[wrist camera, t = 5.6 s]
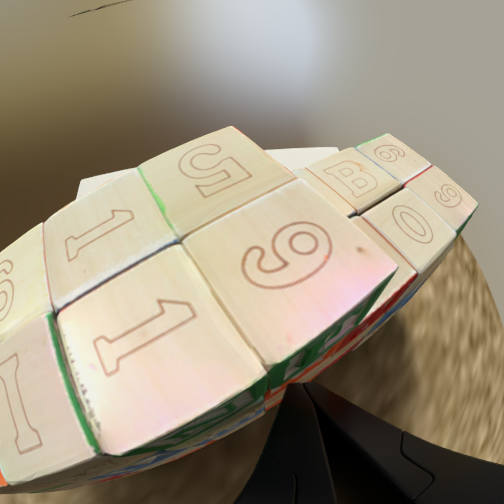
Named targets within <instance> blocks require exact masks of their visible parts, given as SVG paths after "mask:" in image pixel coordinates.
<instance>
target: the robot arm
mask: <svg viewBox="0 0 504 504" xmlns="http://www.w3.org/2000/svg"><path fill="white" fill-rule="evenodd" d="M233 504H504V465H502V464H497V463H493V462H489V461H486V460H482V459H478V458H475V457H471V456H468V455H464V454H461V453H458V452H455V451H452V450H449V449H446V448H443V447H440V446H437V445H435V444H432V443H430V442H427V441H425V440H423V439H421V438H418V437H416V436H414V435H412V434H410V433H408V432H406V431H403V432H402V430H401V429H399V428H397V427H395V426H393V425H391V424H389V423H387V422H386V421H384V420H382V419H380V418H378V417H376V416H374V415H372V414H371V413H369V412H367V411H365V410H363V409H362V408H360V407H358V406H356V405H354V404H353V403H351V402H349V401H347V400H346V399H344V398H342V397H341V396H339V395H337V394H335V393H334V392H332V391H330V390H329V389H327V388H325V387H324V386H322V385H320V384H319V383H317V382H315V381H312V382H303V383H300V382H298V383H288V384H287V386H286V389H285V392H284V395H283V398H282V401H281V403H280V406H279V409H278V412H277V414H276V417H275V420H274V422H273V425H272V428H271V430H270V433H269V436H268V438H267V441H266V443H265V446H264V448H263V451H262V454H261V455H260V457H259V460H258V462H257V464H256V467H255V469H254V471H253V473H252V475H251V477H250V479H249V480H248V482H247V483H246V485H245V487H244V488H243V490H242V491H241V493H240V494H239V496H238V497H237V499H236V500H235V501H234V503H233Z"/></svg>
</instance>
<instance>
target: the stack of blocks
mask: <svg viewBox="0 0 504 504" xmlns="http://www.w3.org/2000/svg"><path fill="white" fill-rule="evenodd" d="M477 207H478V203H477V202H476V201H475V200H474V199H473V198H472V197H471V196H470V195H469V194H467V193H466V192H465V191H464V190H463V189H462V188H461V187H459V186H458V185H457V184H456V183H455V182H454V181H453V180H451V179H450V178H449V177H448V176H447V175H446V174H445V173H443V172H442V171H441V170H440V169H438V168H437V167H436V166H432V165H431V164H430V163H429V162H428V161H427V160H425V159H424V158H423V157H421V156H420V155H419V154H417V153H416V152H415V151H413V150H412V149H411V148H409V147H408V146H406V145H405V144H403V143H402V142H400V141H399V140H397V139H396V138H395V137H393V136H392V135H390V134H384V135H382V136H379V137H377V138H374V139H372V140H370V141H367V142H365V143H362V144H360V145H357V146H356V147H355V148H353V147H352V148H347V149H345V150H343V151H340V152H337V153H335V154H332V155H330V156H328V157H325V158H323V159H321V160H318V161H316V162H313V163H311V164H309V165H307V166H306V167H305V168H300V169H297V170H294V171H292V172H290V171H289V170H288V169H287V168H286V167H284V166H283V165H281V164H280V163H279V162H277V161H276V160H274V159H273V158H272V157H271V156H270V155H268V154H267V153H266V152H265V151H264V150H263V149H261V148H260V147H259V146H257V145H256V144H255V143H254V142H252V141H251V140H250V139H249V138H248V137H247V136H245V135H244V134H243V133H242V132H241V131H239V130H238V129H237V128H235V127H233V126H229V127H227V128H224V129H221V130H218V131H216V132H213V133H210V134H208V135H205V136H202V137H200V138H197V139H195V140H192V141H190V142H188V143H185V144H183V145H181V146H178V147H176V148H174V149H172V150H169V151H167V152H165V153H163V154H161V155H159V156H156V157H154V158H152V159H150V160H148V161H146V162H145V163H143V164H141V165H140V166H139V167H138V168H136V169H132V170H130V171H128V172H126V173H124V174H121V175H119V176H117V177H115V178H113V179H111V180H109V181H107V182H106V183H104V184H102V185H100V186H99V187H97V188H95V189H94V190H92V191H90V192H89V193H87V194H85V195H84V196H82V197H80V198H79V199H77V200H75V201H73V202H72V203H70V204H68V205H66V206H65V207H64V208H62V209H61V210H59V211H58V212H56V213H55V214H53V215H52V216H51V217H50V218H49V219H48V220H47V221H46V222H45V223H40V224H39V225H37V226H36V227H34V228H33V229H31V230H30V231H28V232H27V233H26V234H24V235H23V236H22V237H20V238H19V239H18V240H16V241H15V242H14V243H12V244H11V245H10V246H9V247H7V248H6V249H5V250H3V251H2V252H1V253H0V494H16V493H46V492H54V491H62V490H69V489H74V488H77V487H81V486H85V485H89V484H94V483H98V482H103V481H107V480H109V481H115V480H118V479H122V478H125V477H128V476H131V475H135V474H137V473H140V472H143V471H146V470H148V469H151V468H154V467H156V466H159V465H161V464H165V463H168V462H171V461H174V460H177V459H179V458H181V457H184V456H186V455H188V454H190V453H192V452H195V451H197V450H199V449H201V448H203V447H205V446H207V445H209V444H211V443H213V442H215V441H217V440H219V439H221V438H223V437H225V436H227V435H229V434H231V433H233V432H235V431H237V430H238V429H240V428H242V427H244V426H246V425H247V424H249V423H251V422H253V421H254V420H256V419H258V418H259V417H261V416H263V415H264V414H265V412H266V411H267V410H268V409H270V408H272V407H273V406H275V405H277V404H278V403H280V402H281V401H282V398H283V395H284V392H285V389H286V386H287V384H288V383H298V382H300V383H303V382H310V381H311V380H312V379H313V378H315V377H316V376H317V375H319V374H320V373H322V372H323V371H324V370H326V369H327V368H328V367H330V366H331V365H332V364H334V363H335V362H336V361H338V360H339V359H340V358H341V357H343V356H344V355H345V354H346V353H348V352H349V351H354V350H355V349H356V348H357V347H359V346H360V345H361V344H362V343H364V342H365V341H366V340H367V339H368V338H369V337H371V336H372V335H373V334H374V333H375V332H376V331H378V330H379V329H380V328H381V327H382V326H383V325H384V324H385V323H386V322H387V321H388V320H389V319H390V318H391V317H392V316H393V315H394V314H395V313H396V312H397V311H398V310H399V309H401V308H402V307H403V306H404V305H405V304H406V303H407V302H408V301H409V300H410V299H411V298H412V296H413V295H414V294H415V293H416V292H417V291H418V289H419V288H420V287H421V286H422V285H423V284H424V282H425V281H426V280H427V279H428V278H429V277H430V275H431V274H432V273H433V272H434V271H435V270H436V268H437V267H438V266H439V265H440V263H441V262H442V261H443V259H444V258H445V257H446V256H447V254H448V253H449V251H450V250H451V249H452V247H453V242H454V241H455V240H456V238H457V237H458V235H459V234H460V233H461V231H462V230H463V228H464V227H465V225H466V224H467V222H468V221H469V219H470V218H471V217H472V215H473V213H474V212H475V210H476V209H477Z"/></svg>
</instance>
